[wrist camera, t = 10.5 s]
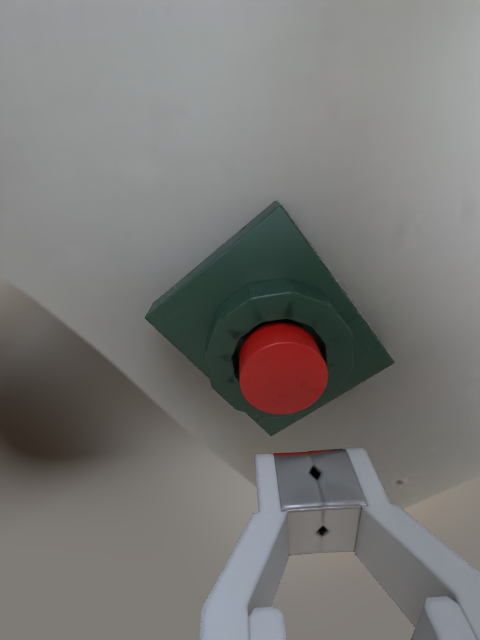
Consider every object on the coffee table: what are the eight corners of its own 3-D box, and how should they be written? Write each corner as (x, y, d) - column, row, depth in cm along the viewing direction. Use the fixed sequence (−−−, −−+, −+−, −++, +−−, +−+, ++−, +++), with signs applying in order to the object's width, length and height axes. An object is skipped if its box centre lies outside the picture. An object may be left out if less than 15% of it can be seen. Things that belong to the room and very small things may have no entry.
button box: (381, 345, 18) (412, 385, 15) (268, 416, 20) (274, 463, 17) (275, 200, 15) (287, 210, 11) (152, 303, 17) (133, 336, 14)
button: (333, 361, 15) (345, 385, 13) (270, 401, 16) (274, 427, 14) (287, 306, 13) (294, 325, 12) (222, 352, 14) (221, 376, 13)
